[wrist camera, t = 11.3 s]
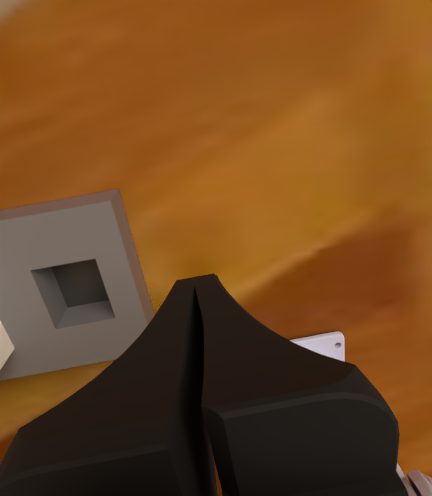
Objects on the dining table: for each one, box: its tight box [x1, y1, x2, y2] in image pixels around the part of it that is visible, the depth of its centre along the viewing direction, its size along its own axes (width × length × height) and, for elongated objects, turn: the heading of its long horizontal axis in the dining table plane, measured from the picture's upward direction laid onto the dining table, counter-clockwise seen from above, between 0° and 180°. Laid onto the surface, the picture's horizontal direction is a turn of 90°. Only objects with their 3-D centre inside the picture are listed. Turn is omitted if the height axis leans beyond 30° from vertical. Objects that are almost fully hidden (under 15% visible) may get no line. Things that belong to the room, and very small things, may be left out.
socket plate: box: [0, 189, 155, 381], centre depth 21 cm, size 10×14×2 cm
